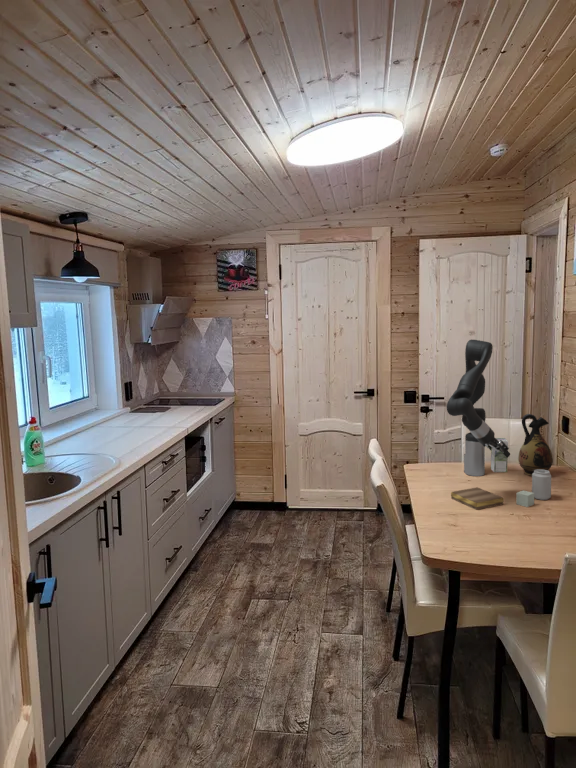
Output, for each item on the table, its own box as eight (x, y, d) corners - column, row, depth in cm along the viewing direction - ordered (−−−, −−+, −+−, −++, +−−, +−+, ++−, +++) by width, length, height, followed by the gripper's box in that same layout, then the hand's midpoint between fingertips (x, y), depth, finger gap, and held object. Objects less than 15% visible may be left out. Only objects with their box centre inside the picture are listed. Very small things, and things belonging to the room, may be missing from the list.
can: (550, 496, 241) (551, 469, 240) (550, 501, 234) (551, 473, 233) (532, 494, 244) (532, 467, 243) (531, 499, 238) (532, 472, 236)
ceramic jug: (546, 470, 280) (548, 411, 276) (556, 478, 265) (557, 417, 261) (511, 469, 283) (512, 411, 279) (518, 478, 268) (519, 417, 264)
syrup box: (503, 469, 247) (504, 437, 246) (507, 472, 242) (508, 440, 240) (490, 469, 248) (491, 437, 246) (494, 472, 242) (494, 440, 240)
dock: (451, 498, 242) (451, 491, 242) (477, 493, 248) (477, 487, 247) (476, 509, 228) (476, 502, 227) (503, 504, 233) (503, 497, 232)
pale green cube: (516, 504, 233) (516, 492, 232) (522, 501, 236) (523, 490, 235) (527, 507, 229) (527, 495, 228) (534, 504, 232) (534, 493, 231)
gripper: (498, 427, 233) (518, 450, 238) (474, 421, 246) (495, 443, 252) (487, 441, 231) (509, 464, 237) (465, 434, 245) (485, 456, 250)
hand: (501, 453), depth 244 cm, fingers closed on syrup box, 7 cm apart
